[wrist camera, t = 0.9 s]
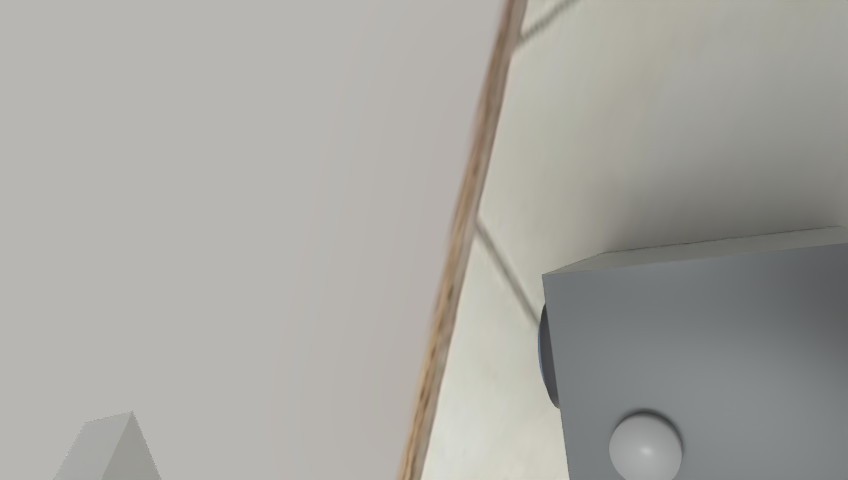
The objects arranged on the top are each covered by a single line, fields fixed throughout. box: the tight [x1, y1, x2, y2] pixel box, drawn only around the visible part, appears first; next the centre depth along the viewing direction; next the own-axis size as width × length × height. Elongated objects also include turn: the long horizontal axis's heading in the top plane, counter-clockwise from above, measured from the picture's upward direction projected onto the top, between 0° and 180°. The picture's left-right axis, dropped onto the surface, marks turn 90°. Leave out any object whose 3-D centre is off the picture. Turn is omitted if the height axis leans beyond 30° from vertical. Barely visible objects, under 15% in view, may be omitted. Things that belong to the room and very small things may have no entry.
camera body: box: [538, 226, 848, 480], centre depth 29 cm, size 11×13×13 cm
